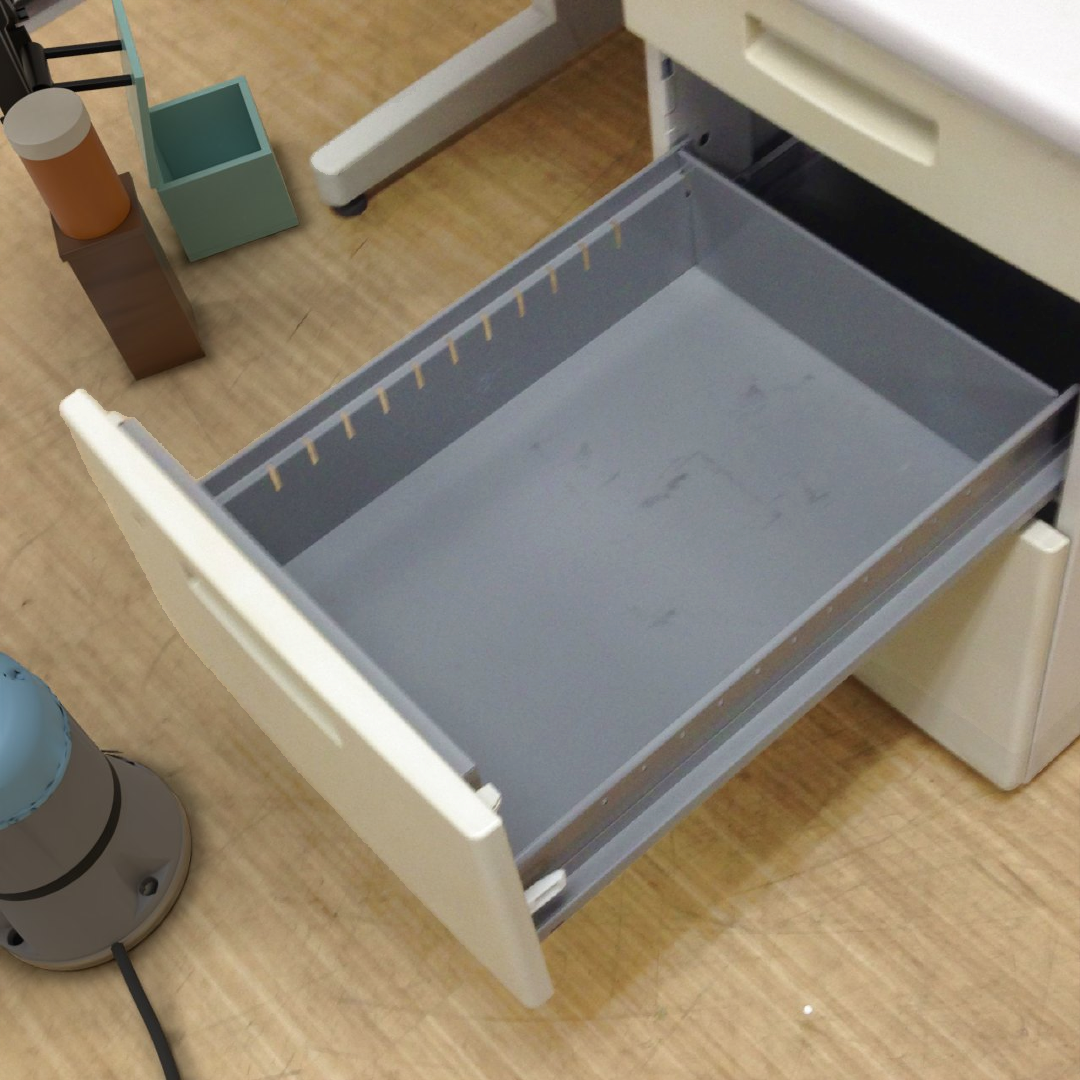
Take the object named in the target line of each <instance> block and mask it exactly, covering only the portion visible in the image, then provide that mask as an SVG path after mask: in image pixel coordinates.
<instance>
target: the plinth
mask: <svg viewBox="0 0 1080 1080" xmlns="http://www.w3.org/2000/svg"><path fill="white" fill-rule="evenodd" d="M118 176H119V178H120V180H121V182H122V184H123V186H124V188H125V190H126V192H127V194H128V196H129V198H130V211H129V213H128V215H127V217H126V219H125V220H124V221H123V222H122V223H121V224H120V225H119V226H118V227H117V228H116V229H114V230H113V231H111V232H110V233H108V234H106V235H103V236H101V237H98V238H94V239H87V240H80V239H74V238H71V237H69V236H67V235H65V234H64V233H63V232H62V231H61V230H60V228H59V226H58V224H57V223H56V221H55V219H54V217H53V215H52V214H51V212H50V210H49V209H48V211H49V216H50V220H51V224H52V230H53V234H54V239H55V243H56V247H57V252H58V256H59V258H60V260H61V262H62V263H66V262H67V263H68V265H69V267H70V268H71V270H72V272H73V274H74V275H75V277H76V279H77V280H78V283H79V284H80V286H81V288H82V289H83V291H84V293H85V294H86V296H87V298H88V300H89V301H90V303H91V305H92V307H93V308H94V310H95V312H96V313H97V316H98V317H99V319H100V320H101V322H102V324H103V326H104V327H105V330H106V331H107V332H108V333H107V334H109V336H110V338H111V340H112V341H113V343H114V345H115V347H116V349H117V351H118V352H119V353H120V355H121V357H122V359H123V361H124V362H125V364H126V366H127V367H128V369H129V371H130V373H131V374H132V376H133V378H134V380H135V381H139V380H142V379H145V378H148V377H150V376H154V375H156V374H158V373H162V372H165V371H167V370H170V369H173V368H176V367H179V366H182V365H185V364H188V363H189V362H193V361H195V360H199V359H201V358H203V357H206V352H205V349H204V347H203V342H202V339H201V335H200V331H199V328H198V324H197V320H196V318H195V313H194V310H193V307H192V305H191V303H190V300H189V299H188V296H187V294H186V292H185V290H184V288H183V287H182V286H183V285H182V284H181V282H180V280H179V278H178V276H177V274H176V272H175V271H174V268H173V266H172V264H171V262H170V260H169V259H168V255H167V254H166V252H165V249H164V248H163V246H162V243H161V241H160V240H159V238H158V236H157V234H156V232H155V229H154V227H153V225H152V224H151V222H150V220H149V218H148V216H147V214H146V212H145V210H144V208H143V206H142V204H141V202H140V199H139V198H138V193H137V190H136V186H135V182H134V179H133V178H134V177H132V174H131V172H130V171H125V172H123V173H120V174H118Z"/></svg>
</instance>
